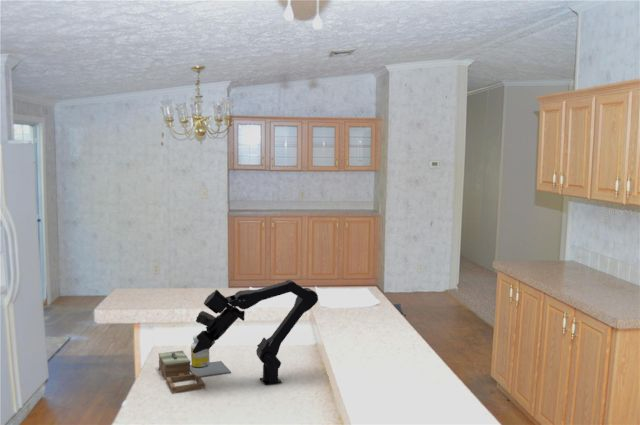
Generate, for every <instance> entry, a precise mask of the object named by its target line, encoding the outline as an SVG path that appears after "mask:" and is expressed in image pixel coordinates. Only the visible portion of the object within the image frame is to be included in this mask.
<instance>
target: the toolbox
mask: <svg viewBox="0 0 640 425" xmlns="http://www.w3.org/2000/svg"><path fill="white" fill-rule="evenodd" d="M191 364H192V362H191V359H190V358H189V357H188V356H187V355H186V353H185V352H184V351H183V350H176V351H168V352H158V369H159V371H160V373H161V375H162V376H163V379H164V380H165V382H166V383H165V384H166V385H167V387H168V389H169V390H170V392H171V394H179V393H185V392H193V391H200V390H205V388H206V387H205V386H206V383H205V382H204V380H203V379H202V377H201V378H200V376H199V375H198V374H197V373H194V374H192V373H191V372H190V365H191ZM189 381H195V383H189V384H183V385H175V384H176V383H182V382H189ZM174 383H175V384H174Z"/></svg>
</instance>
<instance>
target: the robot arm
mask: <svg viewBox="0 0 640 425" xmlns="http://www.w3.org/2000/svg"><path fill="white" fill-rule="evenodd" d="M288 293H292V294H294V295H295V296H296V298H295V302H294V304H293V306H292V308H291V309H290V310H289V312H288V313H287V314H286V316H285V317H284V319H283V320H282V322H281V323H280V324H279V325H278V326H277V328H276V329H275V331H273V333H272V334H271V336H269V337H268V338H266V337H263V338H262V339H261V341H260V342H259V344H257V348H256V351H255V352H256V355H257V358H258V359H259V360H260V362H261V363H262V377H259V380H260V381H261V383H262V384H264V385H266V386H267V385H268V386H269V385H274V384H280V383H282V380H281V379H280V377H279V369H280V367H281V365H282V362H281V361H280V359H279V358H278V357H277V355H278V354H279V350H280V348H281V345H282V343H283V341H285V338H287V337H288V335H289V333H290V332H291V331H292V330H293V328H294V327H295V325H296V324H297V323H298V321H299V320H300V318H301V317H302V316H303V315H304V314H305V313H306V312H308V311H310V310H311V309H312V308H314V306H315V305H316V304H317V303H318V302H319V301H318V300H319V295H318V293H317V292H316V291H315V290H313V289H311V288H309V287H302V286H301V285H299V284H298V283H296V282H295V281H293V280H292V279H287V280H285V281H283V282H278V283H274V284H272V285H269V286H266V287H261V288H258V289H245V290H239V291H237V292H235V294H233V295H229V296H225V295H223V294H222V293H221V292H220V291H219V290H218V289H215V290H214V291H213V292H211V293H210V294H208V296H207V297H206V298H205V300H204V302H203V305H204V306H205V307H207V308H208V309H209V310H210V311H211V312H213V313H215V315H216V314H219V315H217V316H214V315H212V314H210V313H209V312H206V311H204V310H201V311H200V312H199V313H198V315H197V317H196V320H195V322H196V323H197V324H201V325H203V326H206V327H205V329H206V330H201V332H200V333H199V334H197V335H198V336H197V337H196V338H197V339H198V340H199V341H198V343H197V345H196V346H195V348H194V350H193V353H194V354H195V353H197V352H200V351H202V350H205V349H209V350H210V349H211V347H213V346H214V344H215V343H216V341H218V340H219V339H220V337H222V336H223V335H224V334H225V333H226V332H227V330H229V328H230V327H231V326H232V325H234V323H235V322H236V321H237V320H238V319H240V320H242V321H243V322H244V321H245V314H246V313H245V310H248V309H250V308H252V307H254V306H256V305H257V304H258V303H259V302H261V301H264V300H268V299H271V298H274V297H279V296H281V295H284V294H288ZM240 309H241V310H240Z"/></svg>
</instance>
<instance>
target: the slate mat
mask: <svg viewBox="0 0 640 425" xmlns="http://www.w3.org/2000/svg"><path fill="white" fill-rule="evenodd" d="M209 362H210V365H209V367H208V368H206V369H202V370H196V369H193V368H192V364H190V374H194V373H197V374H198V375H199V376H200V378H201V379H202V378H207V377H214V376H222V375H229V374H232V371H231V370H230V369H229V368H228V366H226V364H225V363H224V362H223V361H222V360H217V361H209Z"/></svg>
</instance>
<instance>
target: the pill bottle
mask: <svg viewBox="0 0 640 425" xmlns="http://www.w3.org/2000/svg"><path fill="white" fill-rule="evenodd" d="M198 335H199V334H195V335H193V336H192V337H193V338H192V339H193V340H192V341H193V342H192V344H191V345H190V356H191V357H190V361H191V365H192V368H193V369H196V370H202V369H206V368H208V367H209V365H210V362H211V361H210V349H205V350H202V351H200V352H197V353H195V354H194V353H193V350H194V348H195V346H196V345H197V343H198V341H199V340H198V339H197V338H196V337H197V336H198Z"/></svg>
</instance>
